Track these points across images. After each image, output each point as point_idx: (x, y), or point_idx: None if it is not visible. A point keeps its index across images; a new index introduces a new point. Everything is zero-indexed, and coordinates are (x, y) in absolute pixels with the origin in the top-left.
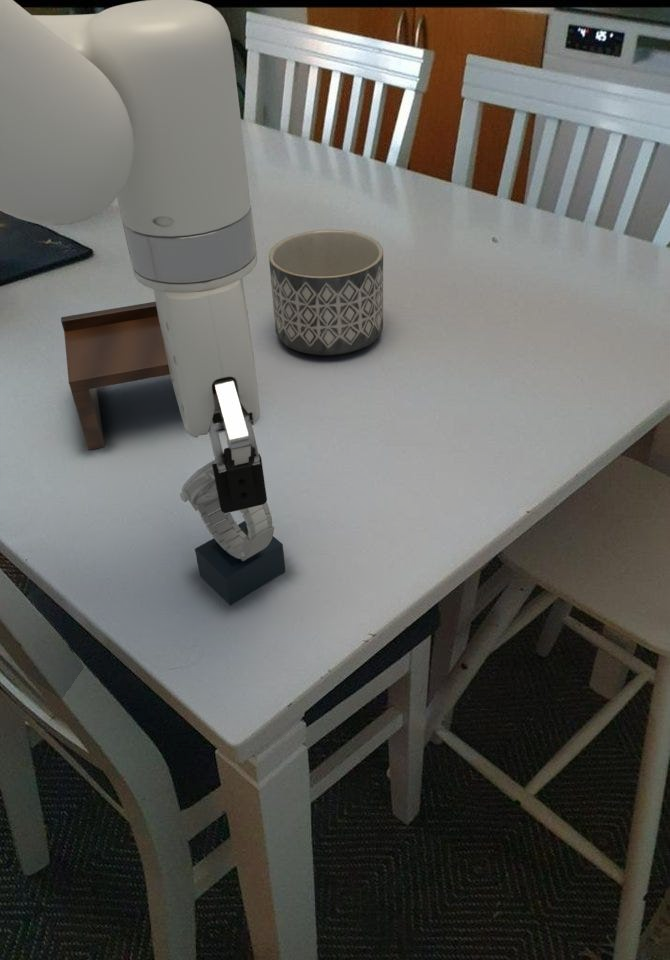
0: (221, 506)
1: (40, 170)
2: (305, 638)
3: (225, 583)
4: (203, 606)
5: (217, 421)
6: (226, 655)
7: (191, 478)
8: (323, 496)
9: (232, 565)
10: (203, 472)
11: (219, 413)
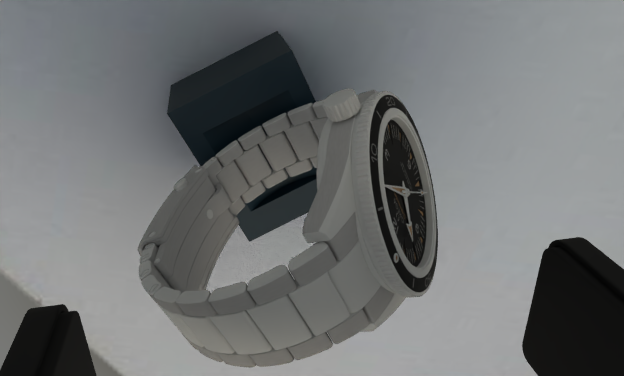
0: (19, 330)
1: None
2: (56, 213)
3: (170, 104)
4: (182, 26)
5: (553, 325)
6: (23, 58)
7: (360, 166)
8: None
9: (215, 131)
10: (360, 216)
11: (572, 360)
